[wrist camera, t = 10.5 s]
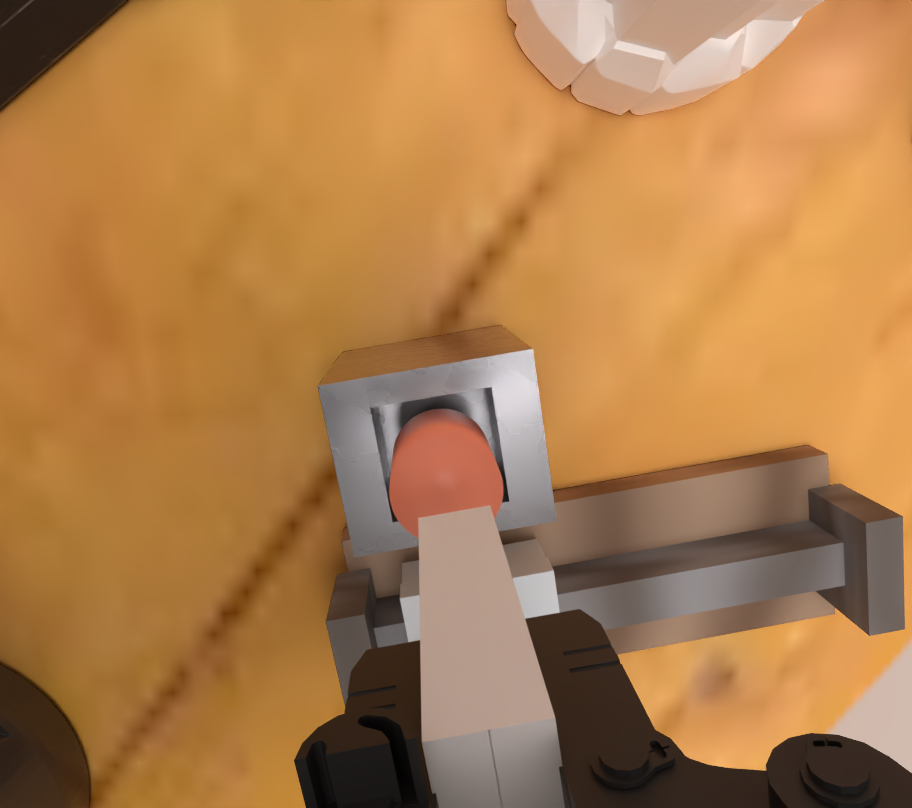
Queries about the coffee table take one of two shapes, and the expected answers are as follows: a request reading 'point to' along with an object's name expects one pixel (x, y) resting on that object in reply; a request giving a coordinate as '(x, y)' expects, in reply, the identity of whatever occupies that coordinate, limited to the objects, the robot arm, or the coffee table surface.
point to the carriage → (526, 571)
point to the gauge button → (442, 468)
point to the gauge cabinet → (425, 388)
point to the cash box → (42, 36)
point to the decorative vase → (649, 46)
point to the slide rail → (679, 557)
